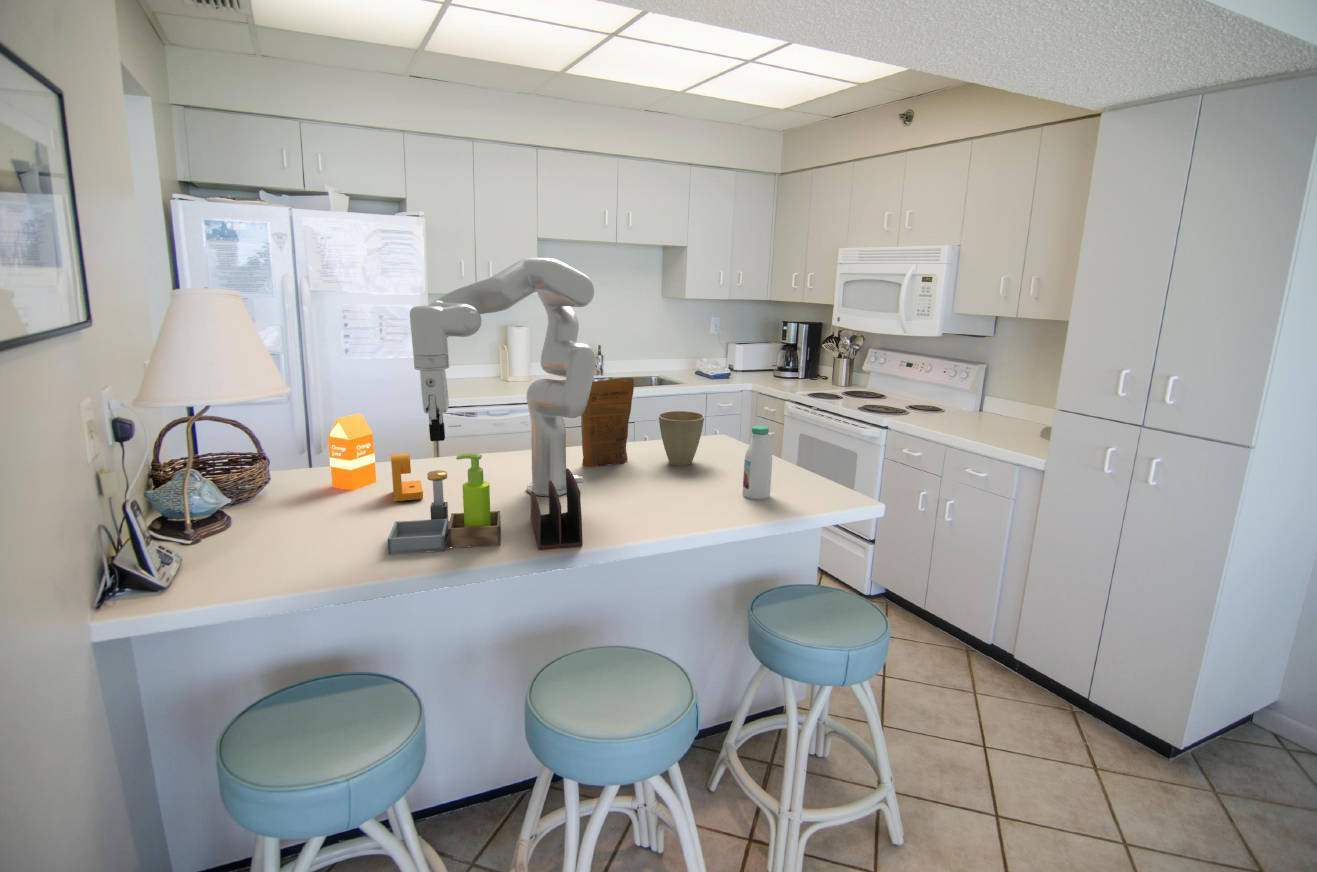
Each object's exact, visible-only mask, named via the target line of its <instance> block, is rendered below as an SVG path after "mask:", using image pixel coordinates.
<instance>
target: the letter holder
mask: <svg viewBox="0 0 1317 872" xmlns="http://www.w3.org/2000/svg"><path fill="white" fill-rule="evenodd" d="M548 485H549V496H548V511H549V512H548V513H545V514H541V510H540V506H539V502H538V499H537V495H535V494H534V492H533V491H531V493H530V522H531V525H532V526H531V527H532V529H533V534H534V537H535V540H536V541H535V542H536V544H537V549H538V550H539V551H543V550H545V549H546V550H555V549H557V548H558V549H568V548H578V547H580V548H581V547H583V542H584V541H583V519H582V516H583V515H582V505H581V504H582V502H581V490H580V488H579V485H578V483H576V480H575V478H574V476H573V473H572V471H571V470H570V469H569V468H567V467H566V490H567V493H566V507H567V509H566V512H562V504H561V501H560V497H559V495H558V494H557V492H556V489H555V487H554V485H553V483H552V481H551V480H549V483H548ZM558 549H557V550H558Z"/></svg>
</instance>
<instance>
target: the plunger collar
mask: <svg viewBox="0 0 1317 872" xmlns="http://www.w3.org/2000/svg"><path fill="white" fill-rule="evenodd" d="M448 503H449V502H448V501H444V506H438V507H434V501H433V502H431V504H430V507H429V508H430V520H434V519H448V527H449V522H450V519H449V504H448Z"/></svg>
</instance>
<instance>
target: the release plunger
mask: <svg viewBox="0 0 1317 872" xmlns="http://www.w3.org/2000/svg"><path fill="white" fill-rule="evenodd" d="M426 476H427V480H428V481H431V482H432V491H433V502H434V507H438V506H444V502H445V501H444V485H443V483H444V480H447V478H448V471H446V470H431V471H429V472H427V474H426Z"/></svg>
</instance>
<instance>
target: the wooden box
mask: <svg viewBox="0 0 1317 872" xmlns="http://www.w3.org/2000/svg"><path fill="white" fill-rule="evenodd" d="M490 517H491V526H482V527H465V528H464V512H456V513H455V512H454V513H453V512H452V513H451V514H450V518H449V521H450V522H449V527H448V539H447V540H448V549H451V548H450V547H463V548H469V547H468V546H479V547H486V546H485V545H495V546H501V544H502V543H501V541H502V540H501V539H502V538H501V537H502V533H501V532H502V531H501V530H502V527H501V525H502V523H501V522H502V521H501V511H500V510H495V511H494V510H493V511H491V510H490Z"/></svg>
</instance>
